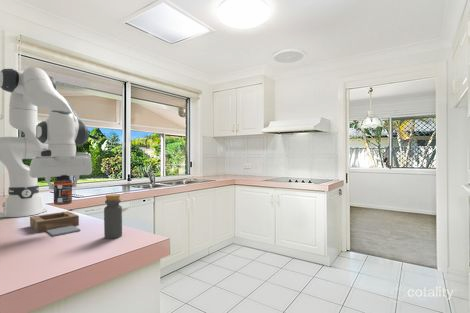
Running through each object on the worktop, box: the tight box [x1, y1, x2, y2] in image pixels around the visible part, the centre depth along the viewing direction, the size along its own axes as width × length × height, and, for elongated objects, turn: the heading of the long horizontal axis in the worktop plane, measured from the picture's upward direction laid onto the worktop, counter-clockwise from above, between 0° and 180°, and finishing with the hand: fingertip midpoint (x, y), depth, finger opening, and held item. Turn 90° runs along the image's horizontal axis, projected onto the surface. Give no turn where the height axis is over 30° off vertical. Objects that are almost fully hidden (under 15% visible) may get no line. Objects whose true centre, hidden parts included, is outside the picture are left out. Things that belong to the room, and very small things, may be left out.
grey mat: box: [46, 226, 81, 237], centre depth 102 cm, size 9×9×1 cm
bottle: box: [103, 193, 123, 240], centre depth 95 cm, size 6×6×15 cm
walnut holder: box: [29, 210, 80, 234], centre depth 110 cm, size 14×14×4 cm
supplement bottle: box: [53, 175, 73, 206], centre depth 102 cm, size 6×6×11 cm
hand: (62, 188), depth 102 cm, fingers closed on supplement bottle, 6 cm apart
